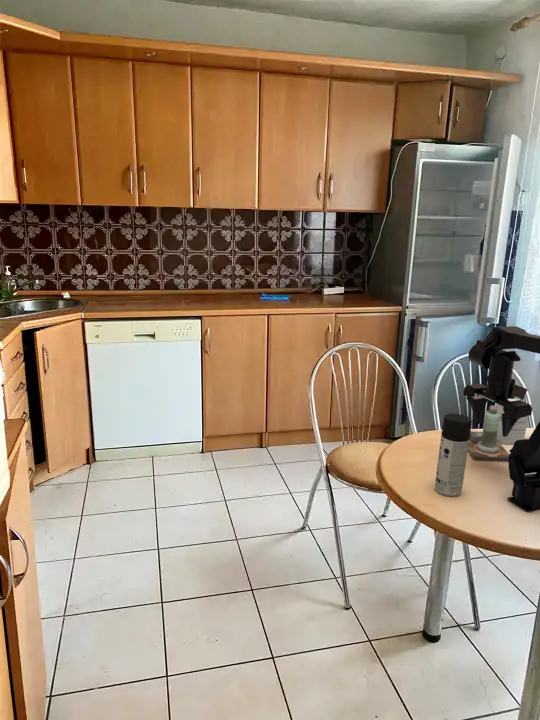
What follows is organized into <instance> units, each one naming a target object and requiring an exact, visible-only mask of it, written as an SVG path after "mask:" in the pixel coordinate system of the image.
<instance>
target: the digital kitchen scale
mask: <svg viewBox="0 0 540 720" xmlns="http://www.w3.org/2000/svg"><path fill="white" fill-rule="evenodd" d="M482 433H483V431H472V430H471V431H470V439H469V445H468V452H467V454H468V455H469V454H470V455H469V456H470V457H471V459H472V460H473V461H482V462H483V461H484V462H503V463H504V462H505V463H508V457H509V454H510V452H509V451H507V449H505V447H504V446H503V444H501V443H500V442H499V441H498V440H497V439H496V444H498V445H499V451H498V453H496V454H487V453H483V452H481V451H479V450H478V449H477V443H478V442H479V441H481V440H482Z"/></svg>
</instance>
